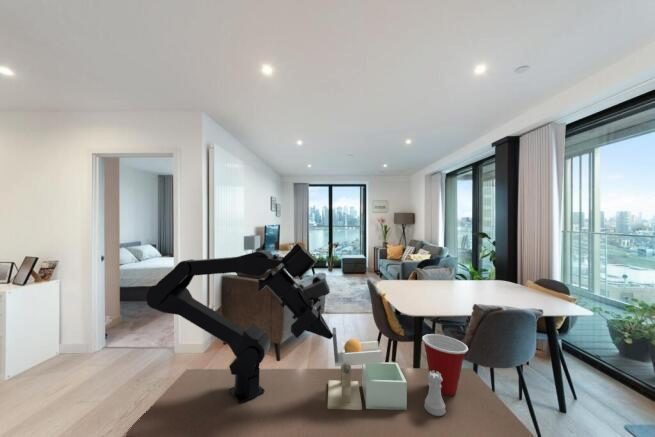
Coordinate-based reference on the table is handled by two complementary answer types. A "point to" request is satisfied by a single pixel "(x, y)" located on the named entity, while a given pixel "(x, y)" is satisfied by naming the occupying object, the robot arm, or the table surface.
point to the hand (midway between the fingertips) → (331, 337)
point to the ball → (352, 346)
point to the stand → (344, 392)
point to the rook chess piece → (435, 395)
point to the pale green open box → (384, 386)
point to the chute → (357, 353)
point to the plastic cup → (445, 359)
